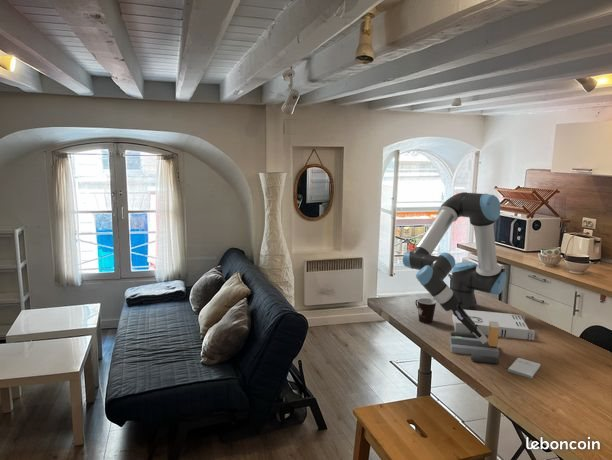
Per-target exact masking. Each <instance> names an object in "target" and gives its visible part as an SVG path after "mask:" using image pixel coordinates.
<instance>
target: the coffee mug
mask: <svg viewBox="0 0 612 460" xmlns="http://www.w3.org/2000/svg"><path fill="white" fill-rule="evenodd" d="M415 305H416V308H417V310H418V311H417V312H418V322H420V323H422V324H427V323H428V324H432V323H433V320H434V316H435V311H436V310H435V309H436V305H437V301H436V300H433V299H432V298H427V297H426V298H425V297H422V298H421V297H420V298H418V299H415Z"/></svg>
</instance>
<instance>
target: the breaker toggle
mask: <svg viewBox="0 0 612 460" xmlns="http://www.w3.org/2000/svg"><path fill="white" fill-rule="evenodd" d="M498 333H499V324H498V322H494V321H489V333H488V344H489V346H494V347H498V341H499V336H498Z"/></svg>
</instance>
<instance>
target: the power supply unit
mask: <svg viewBox="0 0 612 460" xmlns="http://www.w3.org/2000/svg"><path fill="white" fill-rule="evenodd" d="M464 311H465V312H466V314H467V315H468V316H469V317H470V318H471V320H472V321H473V322H474V323H475V325H476V324H477V325H478V326H477V327H478V328H479V330H480V331H481V332H482V333H483V334H484V335H488V333H489V321H494V322H498V324H499V333H498V338H499V337H503V338H504V337H505V338H508V339H509V338H511V339H521V340H529V341H530V340H532V341H534V340H535V338H536V337H535V334H536V330H534V329H530V328H529V327H528V325H527V323H526V315H525V314H515V313H505V312H493V311H483V310H482V311H481V310H475V309H473V310H464ZM451 312H452V315H451V318H452V319H451V320H452V324H453V328H454V329H453V330H454V332H464V333H470V330H469V329H468V328H467V327H466V326H465V325H464V324H463V323H462V322H461V321H459V320H458V319H457V317H456V316H455V315H454V314H453V311H451Z"/></svg>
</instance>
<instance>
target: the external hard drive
mask: <svg viewBox="0 0 612 460" xmlns="http://www.w3.org/2000/svg"><path fill="white" fill-rule="evenodd" d="M540 368H541V363H538V362H536V361H531V360H528V359H524V358H521V357H517V358H516V359H515V360H514V361H513V363H512V364H511V365H510V366H509V367H508V368H507V372H510V373H512V374H516V375H518V376H522V377H525V378H528V379H532V378H533V377H534V375H535V374H536V373H537V372H538V371H539V369H540Z"/></svg>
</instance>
